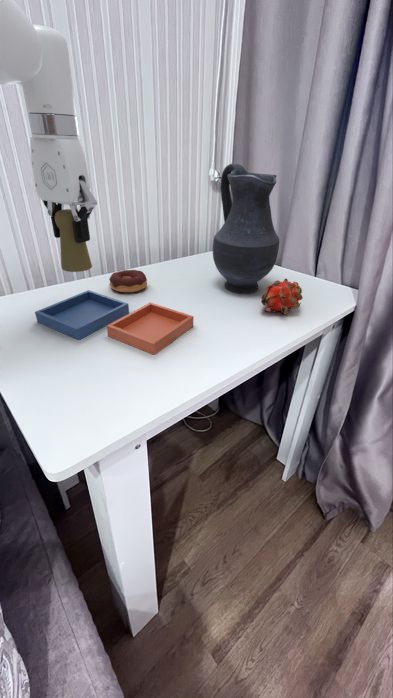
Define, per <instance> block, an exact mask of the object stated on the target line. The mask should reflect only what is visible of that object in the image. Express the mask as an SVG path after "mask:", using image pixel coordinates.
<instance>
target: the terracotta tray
mask: <svg viewBox="0 0 393 698" xmlns="http://www.w3.org/2000/svg"><path fill="white" fill-rule="evenodd" d="M194 317H195V316H194V315H190V314H187V313H185V312H181V311H179V310H174V309H172V308H169V307H166V306H162V305H159V304H157V303H154V302H148V303H146V304H145V305H143V306H141V307H139V308H137V309H135V310H133V311H131V312H129V314H127V315H125V316H123V317H121V318H119V319H118V320H116V321H114V322H112V323H110V324H108V325H106V333H107V337H108V338H111V339H114V340H115V341H119V342H121V343H124V344H126V345H128V346H131V347H133V348H136V349H138V350H140V351H142V352H145V353H148V354H150V355H153V356H155V355H157V354H158V353H159V352H160V351H162V350H163V349H164V348H166V347H167V346H169V345H170V344H171V343H172V342H174V341H175V340H177V339H178V338H179V337H181V336H182V335H184V334H185V333H186V332H187V331H189V330H190V329H192V328H193V327H194Z"/></svg>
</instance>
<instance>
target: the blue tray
mask: <svg viewBox="0 0 393 698" xmlns="http://www.w3.org/2000/svg"><path fill="white" fill-rule="evenodd" d="M34 314H35V319H36V322H37V323H38V324H41V325H43V326H45V327H47V328H50V329H52V330H54V331H56V332H59V333H62V334H64V335H66V336H68V337H70V338H73V339H75V340H77V341H81V340H82V339H84V338H86V337H87V336H90V335H92V334H94V333H95V332H97V331H99V330H100V329H102V328H104V327H107V325H109V324H111V323H113V322H115V321H116V320H118V319H120V318H122V317H124V316H126V315H128V314H130V306H129V303H128V302H125V301H122V300H119V299H116V298H113V297H110V296H107V295H105V294H101V293H98V292H96V291H92V290H89V289H88V290H86V291H83V292H79V293H78V294H75V295H73V296H70V297H68V298H66V299H63V300H61V301H58V302H55V303H54V304H51V305H48V306H46V307H43V308H41V309H39V310H36V311H34Z"/></svg>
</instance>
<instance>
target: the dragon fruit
mask: <svg viewBox="0 0 393 698" xmlns="http://www.w3.org/2000/svg"><path fill="white" fill-rule="evenodd" d="M302 294H303V289H302V287H301V286H300V285H299V283H298V282H297V281H293V282H291V281H289V280H288V278H284V280H283V281H280V280H275V281H274V282H273V283H272V284H270V285H267V286H266V287H265V289H264V293H263V295H261V297H260V300H261V301H260V302H261V304H262V306H264V307H265V306H266V307H265V308H264V312H269V313H275V312H282V315H286V314H289V313H290V311H291V309H292V308H293V309H298V308H300V306H301V303H302V302H300V301H302V300H303V298H304V297H303V295H302Z"/></svg>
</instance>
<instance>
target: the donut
mask: <svg viewBox="0 0 393 698" xmlns="http://www.w3.org/2000/svg"><path fill="white" fill-rule="evenodd" d="M108 284H109V287H110V288H111V289H112V290H113V291H115V292H120V293H136V292H139V291H142V290H144V289H145V288H146V287H147V286H148V279H147V276H146V274H145V273H144V271H141V270H136V269H122V270H121V271H120V270H119V271H116V272H112V274H111V275H110V276H109V283H108Z"/></svg>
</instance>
